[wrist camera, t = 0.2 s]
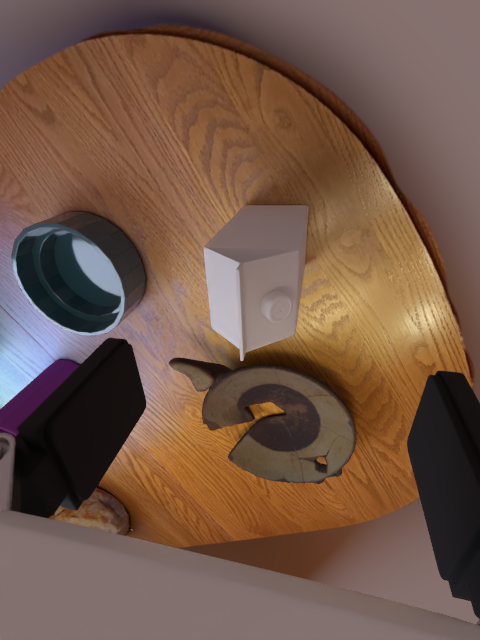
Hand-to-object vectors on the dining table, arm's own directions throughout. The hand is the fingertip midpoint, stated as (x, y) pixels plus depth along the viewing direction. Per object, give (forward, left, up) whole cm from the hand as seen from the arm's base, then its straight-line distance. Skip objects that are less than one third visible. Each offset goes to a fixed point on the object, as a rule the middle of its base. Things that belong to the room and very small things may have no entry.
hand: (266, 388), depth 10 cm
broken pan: (+29, -3, -30) cm, 41 cm away
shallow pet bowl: (+9, -28, -29) cm, 42 cm away
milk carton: (+4, -3, -30) cm, 30 cm away
